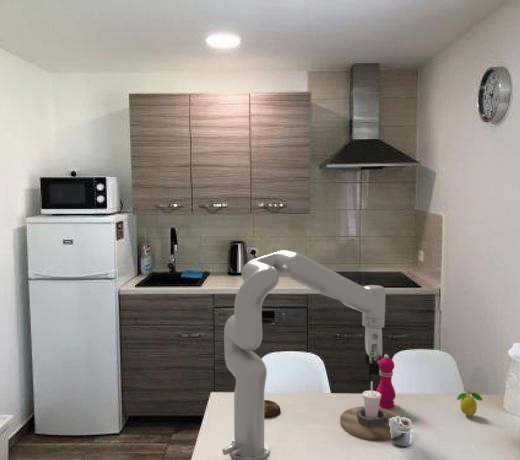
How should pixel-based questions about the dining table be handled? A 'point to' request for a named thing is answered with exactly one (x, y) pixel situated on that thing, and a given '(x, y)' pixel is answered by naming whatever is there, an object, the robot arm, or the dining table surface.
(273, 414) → the bread roll
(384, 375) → the pepper mill
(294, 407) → the dining table surface
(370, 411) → the smoothie
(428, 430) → the dining table surface
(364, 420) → the carrier plate
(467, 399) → the lemon
